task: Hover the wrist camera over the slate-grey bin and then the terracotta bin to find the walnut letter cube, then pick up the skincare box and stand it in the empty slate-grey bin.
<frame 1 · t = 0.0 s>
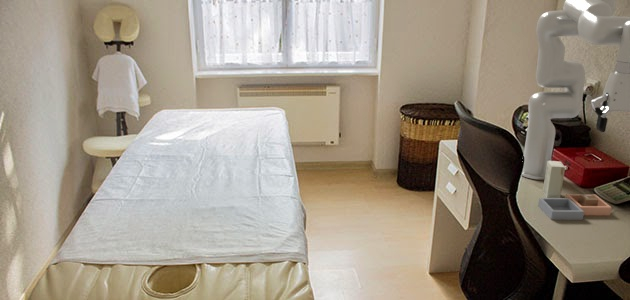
hand: (618, 130, 136), 31 cm above the table, tool pointing down, fingers open, 9 cm apart
skincare box: (550, 197, 169), on the table
bin grey: (559, 214, 157), on the table
letter cube: (586, 208, 160), point 1 cm above the table, touching bin terracotta
bin terracotta: (586, 210, 160), on the table
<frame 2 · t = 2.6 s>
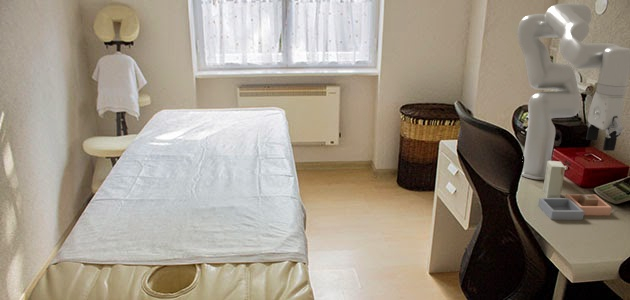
hand: (599, 144, 152), 22 cm above the table, tool pointing down, fingers open, 9 cm apart
nothing on the table moved.
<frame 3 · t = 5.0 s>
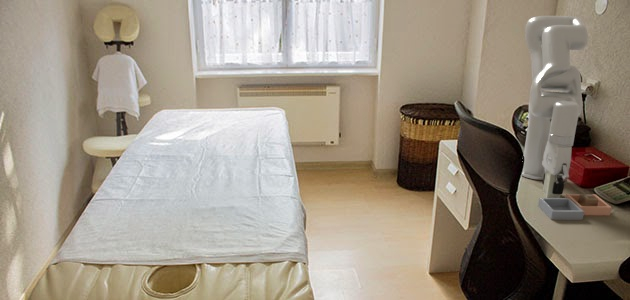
hand: (552, 188, 168), 3 cm above the table, tool pointing down, fingers closed on skincare box, 6 cm apart
skincare box: (550, 197, 169), on the table, touching gripper
everything else where it was.
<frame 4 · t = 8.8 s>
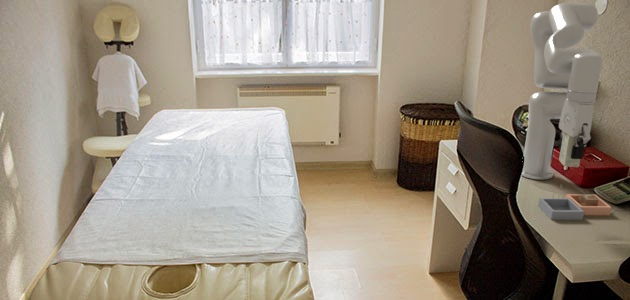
hand: (570, 153, 150), 20 cm above the table, tool pointing down, fingers closed on skincare box, 6 cm apart
skincare box: (568, 164, 151), point 17 cm above the table, touching gripper
everything else where it was.
when the fingers open (5 cm above the table, at t = 12.3 s): skincare box drops 1 cm, resting on bin grey.
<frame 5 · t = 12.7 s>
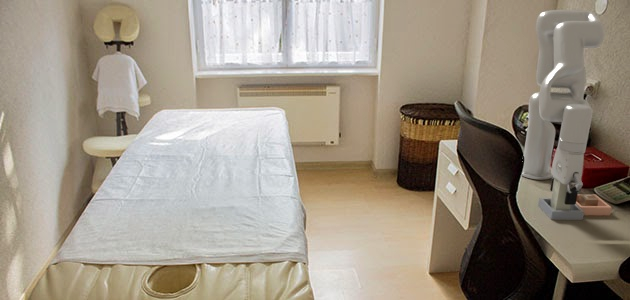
hand: (562, 197, 155), 6 cm above the table, tool pointing down, fingers open, 9 cm apart
skincare box: (558, 212, 157), point 1 cm above the table, touching bin grey
everything else where it was.
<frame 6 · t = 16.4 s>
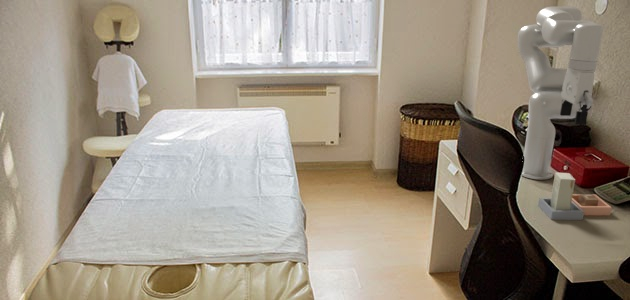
hand: (572, 119, 157), 28 cm above the table, tool pointing down, fingers open, 9 cm apart
nothing on the table moved.
at the end: skincare box 0.5 cm off-centre on the bin grey, point 0.6 cm above the bin grey's base; skincare box tilted 0°; the gripper is holding nothing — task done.
